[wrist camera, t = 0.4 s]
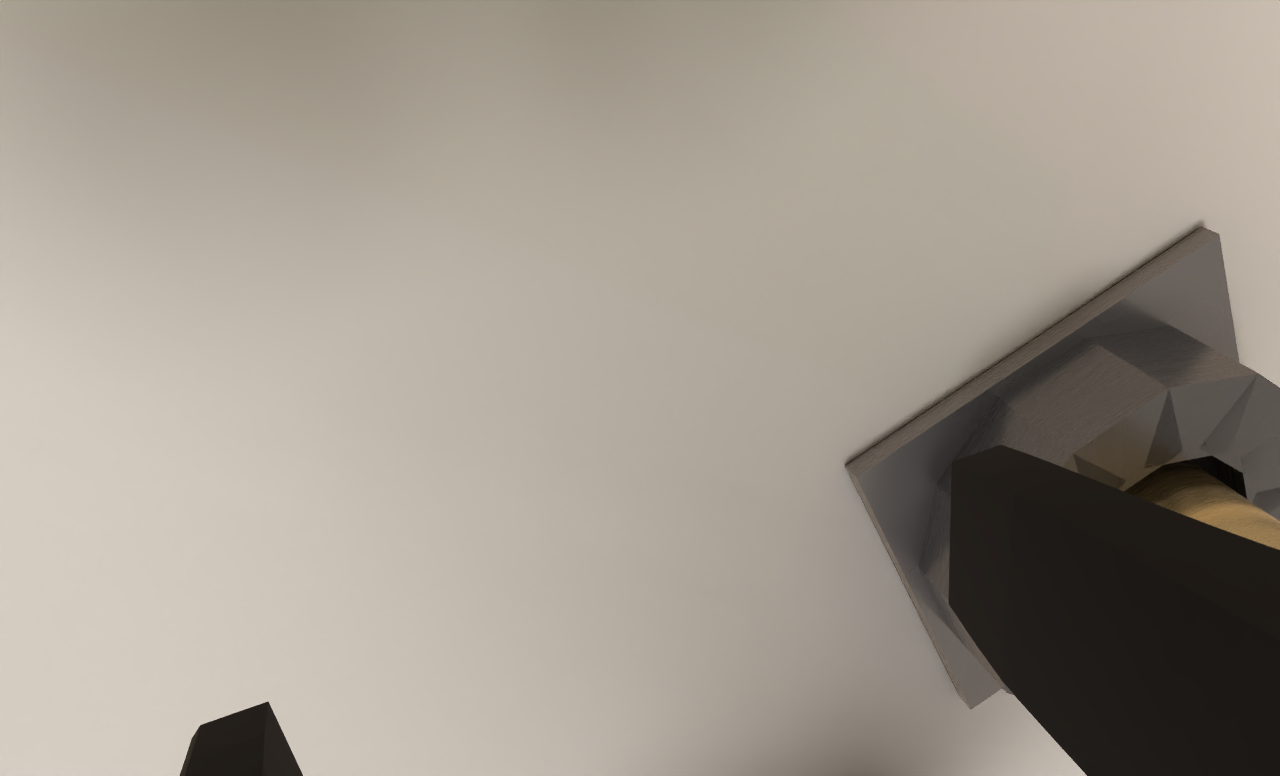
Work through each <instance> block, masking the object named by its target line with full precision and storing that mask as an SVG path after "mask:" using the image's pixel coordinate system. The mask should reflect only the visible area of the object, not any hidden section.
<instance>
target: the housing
mask: <svg viewBox="0 0 1280 776" xmlns="http://www.w3.org/2000/svg"><path fill="white" fill-rule="evenodd" d="M998 445H1003V446H1006V447H1009V448H1012V449H1015V450H1018V451H1021V452H1024V453H1027V454H1029V455H1032V456H1035V457H1037V458H1040V459H1043V460H1045V461H1048V462H1051V463H1053V464H1056V465H1058V466H1061V467H1063V468H1066V469H1068V470H1071V471H1074V472H1076V473H1079V474H1081V475H1084V476H1086V477H1089V478H1091V479H1094V480H1096V481H1099V482H1101V483H1104V484H1106V485H1109V486H1111V487H1114V488H1116V489H1119V490H1121V491H1125V490H1127V489H1128V488H1130V487H1131V486H1133V485H1134V484H1136V483H1137V482H1138V481H1140V480H1141V479H1143V478H1144V477H1146V476H1147V475H1149V474H1150V473H1152V472H1153V471H1155V470H1156V469H1158V468H1159V467H1161V466H1162V465H1165V464H1170V463H1175V462H1180V461H1185V460H1189V461H1191V462H1192V463H1194V464H1195V465H1197V466H1198V467H1200V468H1201V469H1203V470H1204V471H1206V472H1207V473H1209V474H1210V475H1212V476H1213V477H1215V478H1216V479H1218V480H1219V481H1221V482H1222V483H1224V484H1225V485H1227V486H1228V487H1230V488H1231V489H1233V490H1234V491H1236V492H1237V493H1238V494H1240V495H1241V496H1243V497H1244V498H1246V499H1247V500H1249V501H1250V502H1252V503H1253V504H1255V505H1256V506H1258V507H1259V508H1261V509H1262V510H1264V511H1265V512H1267V513H1268V514H1270V515H1271V516H1273V517H1274V518H1276V519H1277V520H1279V521H1280V388H1279V387H1278V386H1276V385H1275V384H1273V383H1272V382H1270V381H1269V380H1267V379H1266V378H1264V377H1263V376H1261V375H1260V374H1259V373H1257V372H1255V371H1253V370H1251V369H1249V368H1248V367H1246V366H1244V365H1242V364H1240V363H1239V358H1238V352H1237V345H1236V339H1235V333H1234V326H1233V320H1232V313H1231V307H1230V301H1229V294H1228V288H1227V281H1226V275H1225V269H1224V262H1223V256H1222V249H1221V243H1220V237H1219V234H1218V233H1215V232H1213V231H1211V230H1208V229H1206V228H1204V227H1201V228H1199V229H1198V230H1196V231H1195V232H1193V233H1192V234H1190V235H1189V236H1188V237H1186V238H1185V239H1183V240H1182V241H1180V242H1179V243H1177V244H1176V245H1174V246H1173V247H1171V248H1170V249H1168V250H1167V251H1165V252H1164V253H1162V254H1161V255H1159V256H1158V257H1156V258H1155V259H1153V260H1152V261H1150V262H1149V263H1147V264H1146V265H1144V266H1143V267H1141V268H1140V269H1138V270H1137V271H1135V272H1134V273H1132V274H1131V275H1129V276H1128V277H1126V278H1125V279H1123V280H1122V281H1120V282H1119V283H1117V284H1116V285H1114V286H1113V287H1111V288H1110V289H1108V290H1107V291H1105V292H1104V293H1102V294H1101V295H1099V296H1098V297H1096V298H1095V299H1094V300H1092V301H1091V302H1089V303H1088V304H1086V305H1085V306H1083V307H1082V308H1080V309H1079V310H1077V311H1076V312H1074V313H1073V314H1071V315H1070V316H1068V317H1067V318H1065V319H1064V320H1062V321H1061V322H1059V323H1058V324H1056V325H1055V326H1053V327H1052V328H1050V329H1049V330H1047V331H1046V332H1044V333H1043V334H1041V335H1040V336H1038V337H1037V338H1035V339H1034V340H1032V341H1031V342H1029V343H1028V344H1026V345H1025V346H1023V347H1022V348H1020V349H1019V350H1017V351H1016V352H1014V353H1013V354H1011V355H1010V356H1008V357H1007V358H1005V359H1004V360H1002V361H1001V362H1000V363H998V364H997V365H995V366H994V367H992V368H991V369H989V370H988V371H986V372H985V373H983V374H982V375H980V376H979V377H977V378H976V379H974V380H973V381H971V382H970V383H968V384H967V385H965V386H964V387H962V388H961V389H959V390H958V391H956V392H955V393H953V394H952V395H950V396H949V397H947V398H946V399H944V400H943V401H941V402H940V403H938V404H937V405H935V406H934V407H932V408H931V409H929V410H928V411H926V412H925V413H923V414H922V415H920V416H919V417H917V418H916V419H914V420H913V421H911V422H910V423H908V424H907V425H906V426H904V427H903V428H901V429H900V430H898V431H897V432H895V433H894V434H892V435H891V436H889V437H888V438H886V439H885V440H883V441H882V442H880V443H879V444H877V445H876V446H874V447H873V448H871V449H870V450H868V451H867V452H865V453H864V454H862V455H861V456H859V457H858V458H856V459H855V460H853V461H852V462H850V463H849V464H847V465H846V466H845V467H846V469H847V471H848V473H849V475H850V477H851V479H852V481H853V483H854V485H855V487H856V489H857V491H858V493H859V495H860V497H861V499H862V501H863V503H864V505H865V507H866V509H867V511H868V513H869V515H870V517H871V519H872V521H873V523H874V525H875V527H876V529H877V531H878V533H879V535H880V537H881V539H882V541H883V543H884V545H885V547H886V549H887V551H888V553H889V555H890V557H891V559H892V561H893V563H894V565H895V567H896V569H897V571H898V573H899V575H900V577H901V579H902V581H903V583H904V585H905V587H906V589H907V591H908V593H909V595H910V597H911V599H912V601H913V603H914V605H915V607H916V609H917V611H918V613H919V615H920V617H921V619H922V621H923V623H924V625H925V627H926V629H927V631H928V633H929V635H930V637H931V639H932V641H933V643H934V645H935V647H936V649H937V651H938V653H939V655H940V658H941V660H942V662H943V664H944V666H945V668H946V670H947V672H948V674H949V676H950V678H951V680H952V682H953V684H954V686H955V688H956V690H957V692H958V694H959V696H960V697H961V699H962V700H963V701H964V702H965V703H966V705H967V706H968V707H969V708H970V709H972V708H974V707H975V706H977V705H978V704H980V703H981V702H983V701H984V700H985V699H987V698H988V697H990V696H991V695H993V694H994V693H996V692H997V691H999V690H1000V689H1002V688H1003V689H1004V690H1005V692H1006V693H1010V694H1013V693H1012V692H1011V691H1010V689H1009V688H1008V687H1007V686H1006V685H1005V684H1004V683H1003V681H1002V680H1001V679H1000V677H999V676H998V675H997V673H996V672H995V670H994V669H993V668H992V666H991V665H990V664H989V662H988V661H987V659H986V658H985V657H984V655H983V654H982V652H981V651H980V650H979V648H978V647H977V646H976V644H975V643H974V641H973V640H972V638H971V637H970V635H969V634H968V632H967V631H966V629H965V628H964V626H963V625H962V623H961V622H960V620H959V619H958V617H957V616H956V614H955V613H954V611H953V610H952V608H951V607H950V605H949V604H948V602H949V558H950V513H951V469H952V462H953V461H956V460H958V459H961V458H964V457H967V456H970V455H973V454H976V453H978V452H981V451H984V450H987V449H990V448H993V447H996V446H998ZM1013 695H1014V694H1013Z"/></svg>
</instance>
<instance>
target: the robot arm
mask: <svg viewBox="0 0 1280 776" xmlns="http://www.w3.org/2000/svg"><path fill="white" fill-rule="evenodd" d="M948 604H949V605H950V607H951V608H952V610H953V611H954V613H955V614H956V616H957V617H958V619H959V620H960V622H961V623H962V625H963V626H964V628H965V629H966V631H967V632H968V634H969V635H970V637H971V638H972V640H973V641H974V643H975V644H976V646H977V647H978V648H979V650H980V651H981V652H982V654H983V655H984V657H985V658H986V659H987V661H988V662H989V664H990V665H991V666H992V668H993V669H994V670H995V672H996V673H997V675H998V676H999V677H1000V679H1001V680H1002V681H1003V683H1004V684H1005V685H1006V686H1007V687H1008V688H1009V689H1010V691H1011V692H1012V693H1013V694H1014V695H1015V696H1016V697H1017V699H1018V700H1019V701H1020V702H1021V703H1022V704H1023V705H1024V706H1025V708H1026V709H1027V710H1028V711H1029V712H1030V713H1031V714H1032V715H1033V716H1034V718H1035V719H1036V720H1037V721H1038V722H1039V723H1040V724H1041V725H1042V726H1043V728H1044V729H1045V730H1046V731H1047V732H1048V733H1049V734H1050V735H1051V736H1052V738H1053V739H1054V740H1055V741H1056V742H1057V743H1058V744H1059V745H1060V746H1061V747H1062V749H1063V750H1064V751H1065V752H1066V753H1067V754H1068V755H1069V756H1070V757H1071V758H1072V759H1073V761H1074V762H1075V763H1076V764H1077V765H1078V766H1079V767H1080V768H1081V769H1082V770H1083V771H1084V773H1085V774H1086V775H1087V776H1280V550H1279V549H1276V548H1273V547H1270V546H1267V545H1264V544H1261V543H1258V542H1256V541H1253V540H1250V539H1247V538H1244V537H1242V536H1239V535H1236V534H1233V533H1231V532H1228V531H1225V530H1222V529H1220V528H1217V527H1214V526H1212V525H1209V524H1206V523H1204V522H1201V521H1198V520H1196V519H1193V518H1191V517H1188V516H1185V515H1183V514H1180V513H1177V512H1175V511H1172V510H1170V509H1167V508H1165V507H1162V506H1159V505H1157V504H1154V503H1152V502H1149V501H1147V500H1144V499H1142V498H1139V497H1136V496H1134V495H1131V494H1129V493H1126V492H1124V491H1121V490H1119V489H1116V488H1114V487H1111V486H1109V485H1106V484H1104V483H1101V482H1099V481H1096V480H1094V479H1091V478H1089V477H1086V476H1084V475H1081V474H1079V473H1076V472H1074V471H1071V470H1068V469H1066V468H1063V467H1061V466H1058V465H1056V464H1053V463H1051V462H1048V461H1045V460H1043V459H1040V458H1037V457H1035V456H1032V455H1029V454H1027V453H1024V452H1021V451H1018V450H1015V449H1012V448H1009V447H1006V446H1003V445H998V446H996V447H993V448H990V449H987V450H984V451H981V452H978V453H976V454H973V455H970V456H967V457H964V458H961V459H958V460H956V461H953V462H952V469H951V513H950V558H949V602H948ZM180 776H303V774H302V772H301V770H300V768H299V766H298V764H297V762H296V760H295V757H294V755H293V753H292V751H291V749H290V747H289V745H288V742H287V740H286V738H285V736H284V734H283V732H282V730H281V728H280V725H279V723H278V721H277V719H276V717H275V715H274V713H273V710H272V708H271V706H270V704H269V702H265V703H263V704H260V705H257V706H254V707H251V708H248V709H245V710H243V711H240V712H237V713H234V714H231V715H228V716H225V717H223V718H220V719H217V720H214V721H211V722H208V723H205V724H203V725H200V727H199V728H198V730H197V731H196V733H195V734H194V736H193V738H192V740H191V743H190V746H189V749H188V752H187V755H186V758H185V761H184V764H183V767H182V770H181V773H180Z"/></svg>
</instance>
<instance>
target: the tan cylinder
mask: <svg viewBox="0 0 1280 776" xmlns="http://www.w3.org/2000/svg"><path fill="white" fill-rule="evenodd" d="M1124 492H1126V493H1129V494H1131V495H1134V496H1136V497H1139V498H1142V499H1144V500H1147V501H1149V502H1152V503H1154V504H1157V505H1159V506H1162V507H1165V508H1167V509H1170V510H1172V511H1175V512H1177V513H1180V514H1183V515H1185V516H1188V517H1191V518H1193V519H1196V520H1198V521H1201V522H1204V523H1206V524H1209V525H1212V526H1214V527H1217V528H1220V529H1222V530H1225V531H1228V532H1231V533H1233V534H1236V535H1239V536H1242V537H1244V538H1247V539H1250V540H1253V541H1256V542H1258V543H1261V544H1264V545H1267V546H1270V547H1273V548H1276V549H1279V550H1280V521H1279V520H1277V519H1276V518H1274V517H1273V516H1271V515H1270V514H1268V513H1267V512H1265V511H1264V510H1262V509H1261V508H1259V507H1258V506H1256V505H1255V504H1253V503H1252V502H1250V501H1249V500H1247V499H1246V498H1244V497H1243V496H1241V495H1240V494H1238V493H1237V492H1236V491H1234V490H1233V489H1231V488H1230V487H1228V486H1227V485H1225V484H1224V483H1222V482H1221V481H1219V480H1218V479H1216V478H1215V477H1213V476H1212V475H1210V474H1209V473H1207V472H1206V471H1204V470H1203V469H1201V468H1200V467H1198V466H1197V465H1195V464H1194V463H1192V462H1191V461H1189V460H1185V461H1180V462H1175V463H1170V464H1165V465H1162V466H1161V467H1159V468H1158V469H1156V470H1155V471H1153V472H1152V473H1150V474H1149V475H1147V476H1146V477H1144V478H1143V479H1141V480H1140V481H1138V482H1137V483H1136V484H1134V485H1133V486H1131V487H1130V488H1128V489H1127V490H1125V491H1124Z"/></svg>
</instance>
